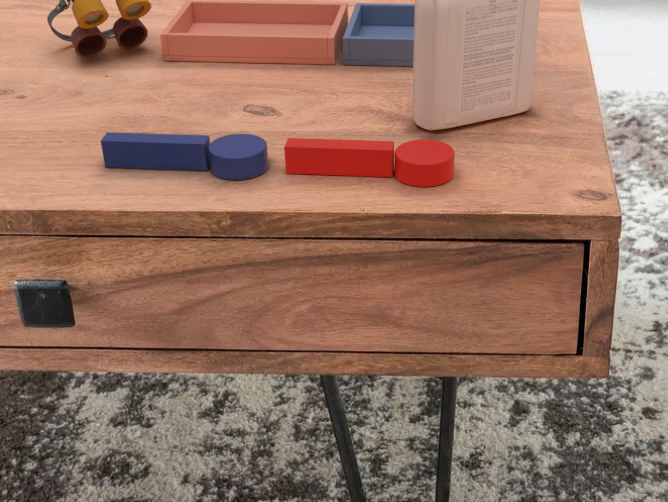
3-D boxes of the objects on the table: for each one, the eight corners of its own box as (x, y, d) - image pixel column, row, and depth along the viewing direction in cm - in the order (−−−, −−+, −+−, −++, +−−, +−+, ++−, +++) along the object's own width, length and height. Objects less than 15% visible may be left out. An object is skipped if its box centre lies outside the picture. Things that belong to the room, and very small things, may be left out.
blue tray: (343, 64, 97) (342, 38, 95) (356, 28, 105) (355, 2, 103) (521, 69, 95) (523, 41, 93) (520, 31, 103) (522, 5, 101)
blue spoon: (99, 175, 79) (94, 148, 78) (116, 151, 83) (112, 124, 81) (262, 181, 78) (260, 153, 76) (273, 156, 81) (271, 129, 80)
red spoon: (282, 182, 77) (280, 154, 76) (292, 156, 81) (290, 129, 80) (452, 188, 76) (453, 160, 75) (455, 161, 80) (456, 134, 78)
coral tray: (163, 60, 98) (159, 34, 97) (190, 25, 107) (187, 0, 105) (334, 64, 97) (333, 37, 95) (348, 28, 105) (347, 2, 103)
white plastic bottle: (510, 95, 90) (520, -56, 83) (538, 112, 87) (552, -43, 79) (404, 118, 86) (405, -37, 79) (429, 138, 83) (433, -23, 76)
